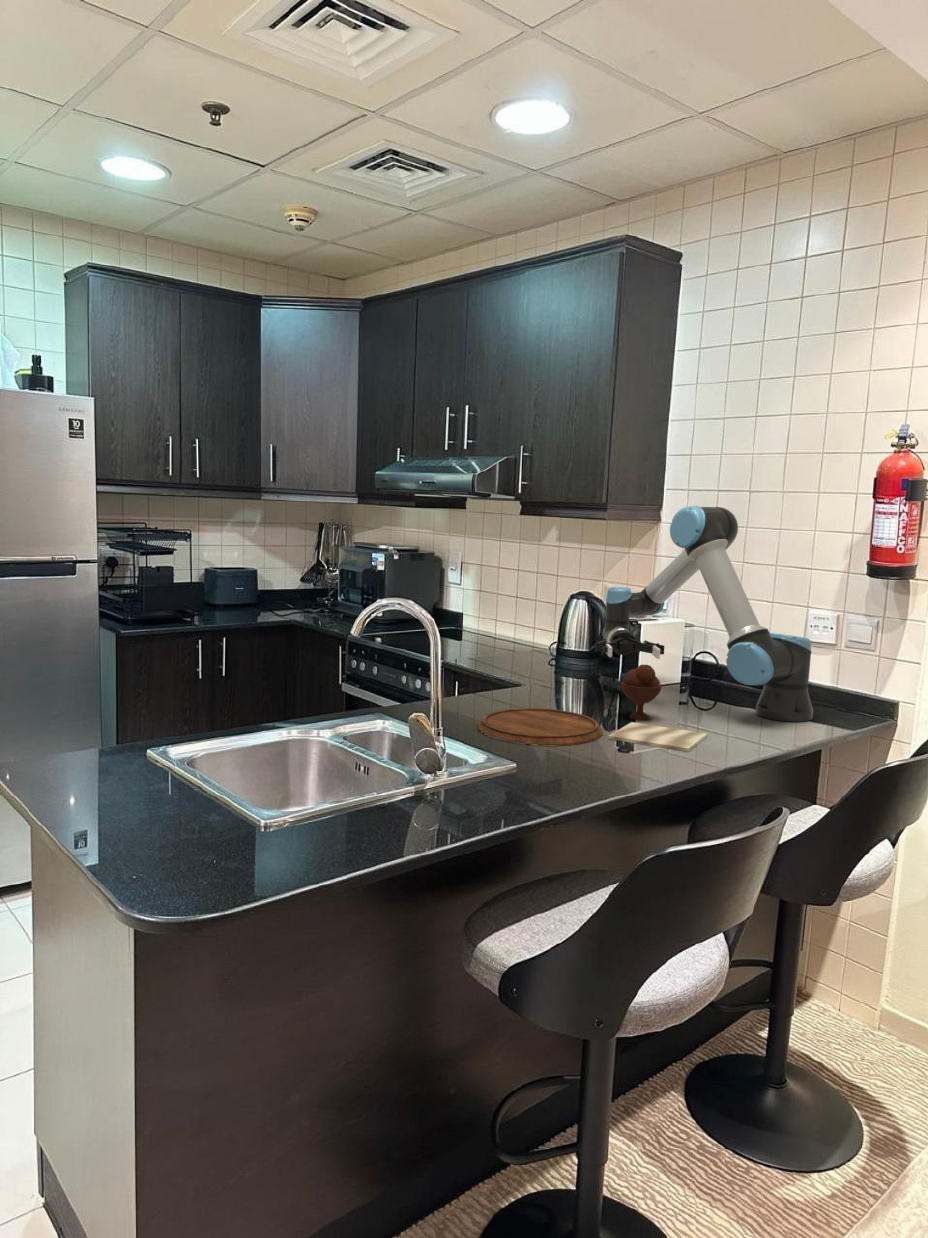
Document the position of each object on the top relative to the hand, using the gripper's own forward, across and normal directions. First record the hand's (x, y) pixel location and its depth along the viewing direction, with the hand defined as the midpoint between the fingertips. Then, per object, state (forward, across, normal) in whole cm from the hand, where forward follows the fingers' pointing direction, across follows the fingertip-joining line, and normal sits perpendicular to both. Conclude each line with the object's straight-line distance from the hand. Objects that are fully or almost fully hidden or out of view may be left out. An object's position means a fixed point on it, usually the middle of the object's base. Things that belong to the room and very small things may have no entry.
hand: (634, 653), depth 246 cm
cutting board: (+26, +28, -17) cm, 42 cm away
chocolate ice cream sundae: (+10, 0, -16) cm, 19 cm away
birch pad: (+31, -1, -16) cm, 35 cm away
